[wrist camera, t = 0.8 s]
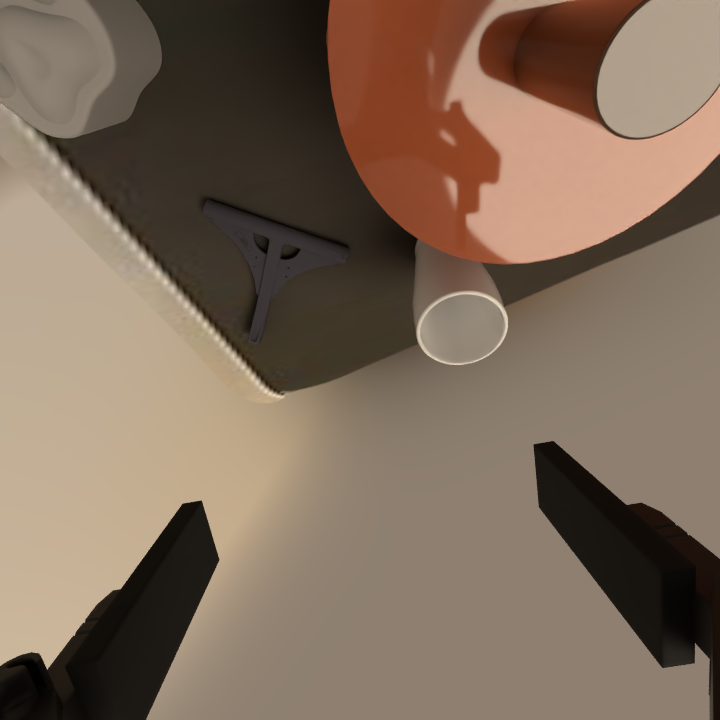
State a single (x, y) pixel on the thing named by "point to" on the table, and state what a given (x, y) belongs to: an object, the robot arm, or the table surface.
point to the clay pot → (525, 115)
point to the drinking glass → (455, 307)
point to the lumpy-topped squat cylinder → (75, 62)
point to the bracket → (272, 255)
